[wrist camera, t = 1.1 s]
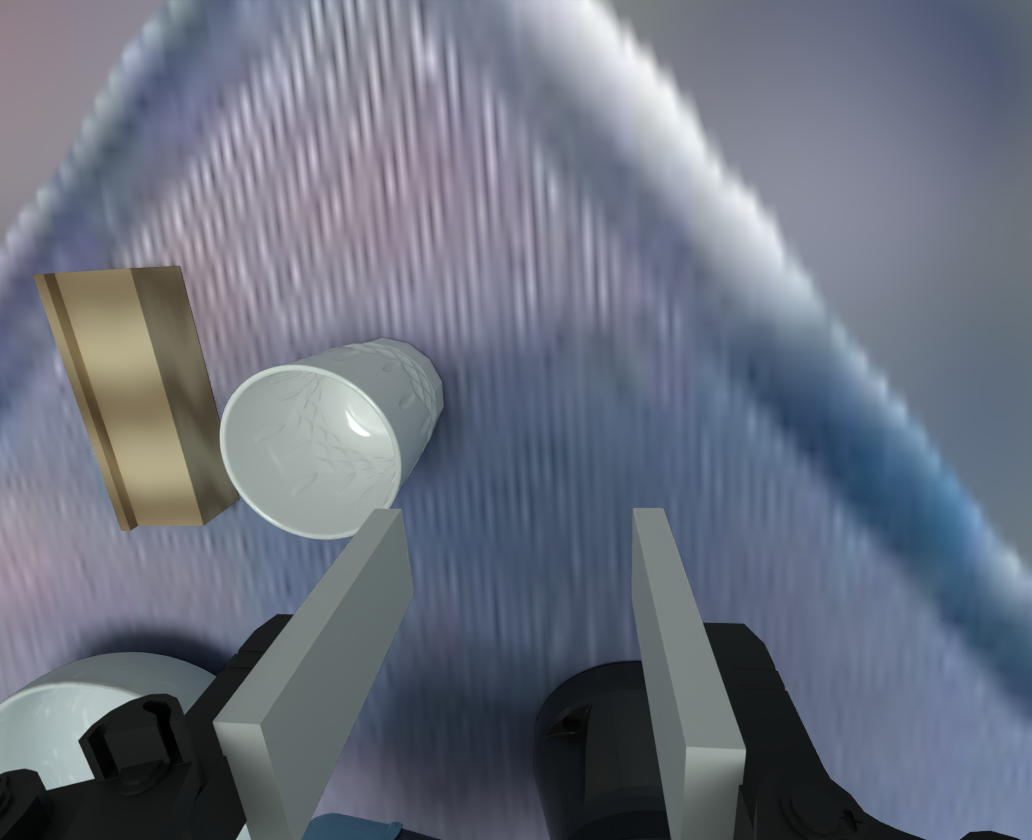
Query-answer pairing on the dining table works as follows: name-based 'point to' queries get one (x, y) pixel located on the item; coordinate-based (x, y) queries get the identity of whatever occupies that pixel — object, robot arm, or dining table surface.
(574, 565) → the dining table surface
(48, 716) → the serving bowl
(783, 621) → the dining table surface
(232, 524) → the dining table surface
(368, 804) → the dining table surface
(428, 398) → the white cup
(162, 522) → the brass metal channel
